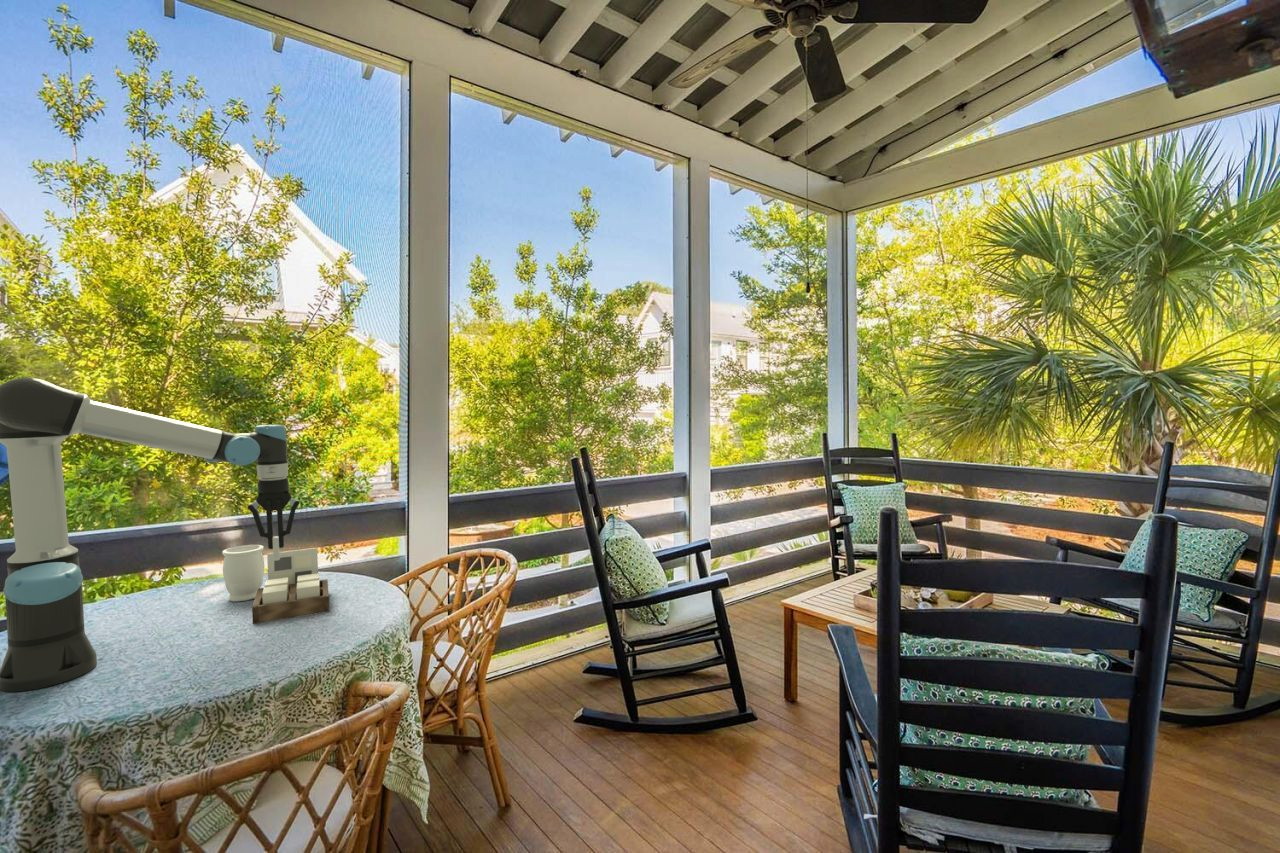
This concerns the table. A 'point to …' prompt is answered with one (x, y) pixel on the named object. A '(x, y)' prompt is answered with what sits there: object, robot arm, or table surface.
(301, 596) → the button near right
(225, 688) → the table surface
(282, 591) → the button near left
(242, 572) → the jar
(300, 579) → the button far right
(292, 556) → the card
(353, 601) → the table surface
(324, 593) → the board
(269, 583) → the button far left
